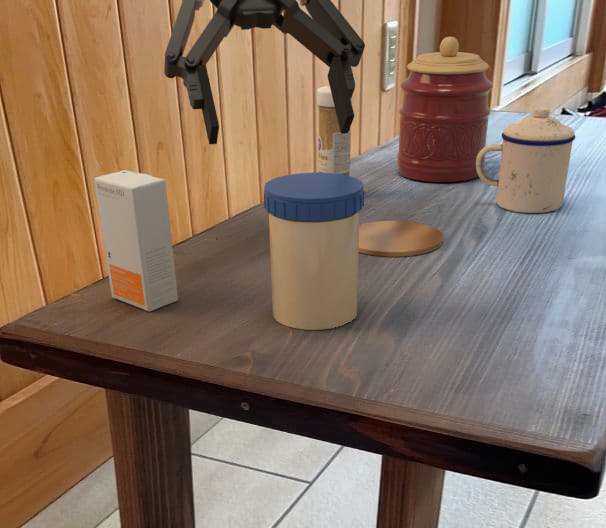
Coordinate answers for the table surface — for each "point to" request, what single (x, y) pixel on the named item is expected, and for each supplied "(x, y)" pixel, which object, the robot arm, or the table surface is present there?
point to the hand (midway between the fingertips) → (282, 130)
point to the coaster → (398, 238)
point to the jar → (314, 271)
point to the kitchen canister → (444, 115)
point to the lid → (313, 196)
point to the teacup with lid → (532, 163)
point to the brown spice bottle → (331, 137)
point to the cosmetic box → (137, 238)
